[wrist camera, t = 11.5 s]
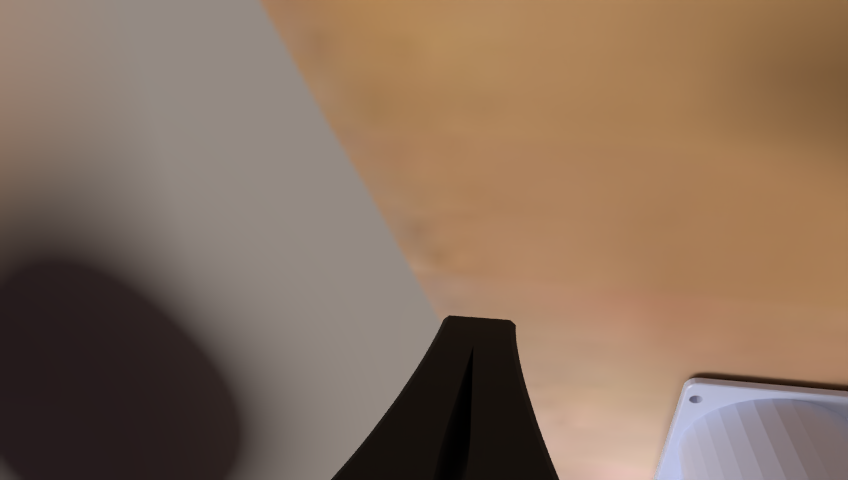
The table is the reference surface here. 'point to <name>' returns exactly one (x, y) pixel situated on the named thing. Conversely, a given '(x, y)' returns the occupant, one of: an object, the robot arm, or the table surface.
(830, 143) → the table surface
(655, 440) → the table surface
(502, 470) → the robot arm
